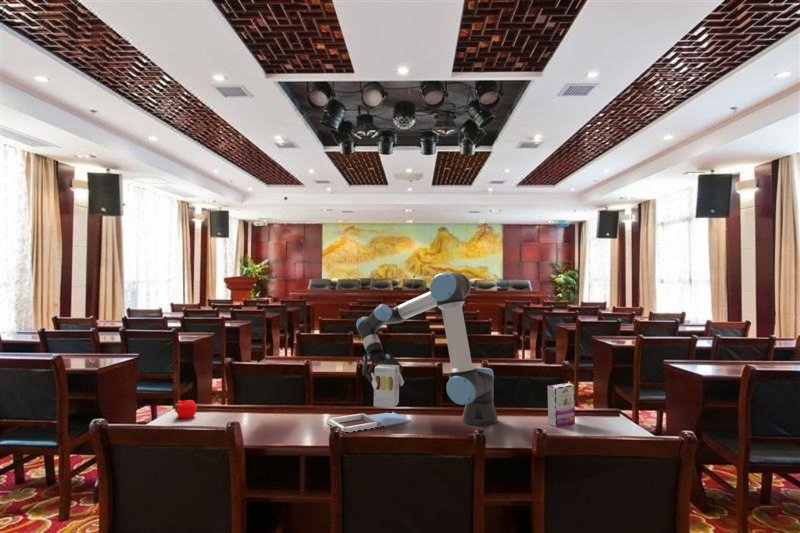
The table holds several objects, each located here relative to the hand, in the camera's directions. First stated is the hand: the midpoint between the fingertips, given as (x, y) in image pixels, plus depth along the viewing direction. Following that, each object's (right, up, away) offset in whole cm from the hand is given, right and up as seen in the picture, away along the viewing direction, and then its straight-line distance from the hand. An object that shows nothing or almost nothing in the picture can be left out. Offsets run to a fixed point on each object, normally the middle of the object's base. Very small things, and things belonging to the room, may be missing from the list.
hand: (389, 385), depth 208 cm
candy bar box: (+73, -15, -4) cm, 75 cm away
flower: (-89, -15, +3) cm, 91 cm away
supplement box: (-1, -9, +2) cm, 9 cm away
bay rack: (-8, -15, -3) cm, 17 cm away
